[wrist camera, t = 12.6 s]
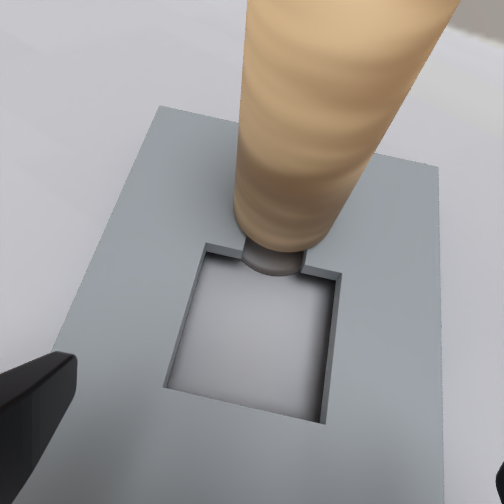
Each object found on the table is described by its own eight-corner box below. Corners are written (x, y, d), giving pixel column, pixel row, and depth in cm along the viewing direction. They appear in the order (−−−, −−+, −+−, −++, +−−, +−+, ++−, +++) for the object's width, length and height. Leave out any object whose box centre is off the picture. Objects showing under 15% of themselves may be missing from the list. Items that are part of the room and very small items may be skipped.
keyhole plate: (410, 579, 15) (445, 607, 12) (20, 487, 15) (-14, 498, 13) (416, 192, 23) (438, 166, 21) (165, 136, 23) (159, 105, 21)
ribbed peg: (254, 290, 19) (323, 34, 7) (217, 213, 21) (216, -102, 9) (335, 256, 21) (521, -14, 8) (293, 186, 22) (391, -124, 10)
